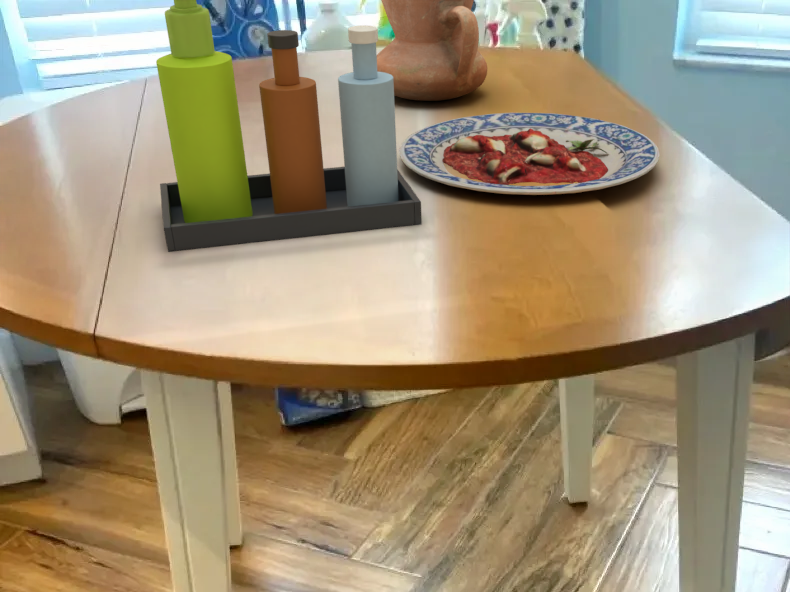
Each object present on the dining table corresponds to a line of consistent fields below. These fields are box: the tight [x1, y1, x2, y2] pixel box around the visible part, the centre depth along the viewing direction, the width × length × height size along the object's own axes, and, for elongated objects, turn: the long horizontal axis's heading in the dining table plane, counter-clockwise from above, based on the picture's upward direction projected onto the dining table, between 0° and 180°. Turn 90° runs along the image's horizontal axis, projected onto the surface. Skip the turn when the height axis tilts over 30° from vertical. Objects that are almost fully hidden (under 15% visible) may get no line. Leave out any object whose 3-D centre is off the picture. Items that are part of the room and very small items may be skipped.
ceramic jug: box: [376, 0, 488, 102], centre depth 117 cm, size 18×14×14 cm
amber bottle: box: [258, 29, 327, 214], centre depth 80 cm, size 5×5×15 cm
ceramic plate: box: [398, 112, 661, 196], centre depth 96 cm, size 26×26×3 cm
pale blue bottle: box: [337, 24, 399, 206], centre depth 82 cm, size 5×5×15 cm
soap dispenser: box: [155, 0, 253, 223], centre depth 78 cm, size 6×7×20 cm
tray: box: [159, 166, 422, 253], centre depth 84 cm, size 21×11×3 cm, turn 106°
